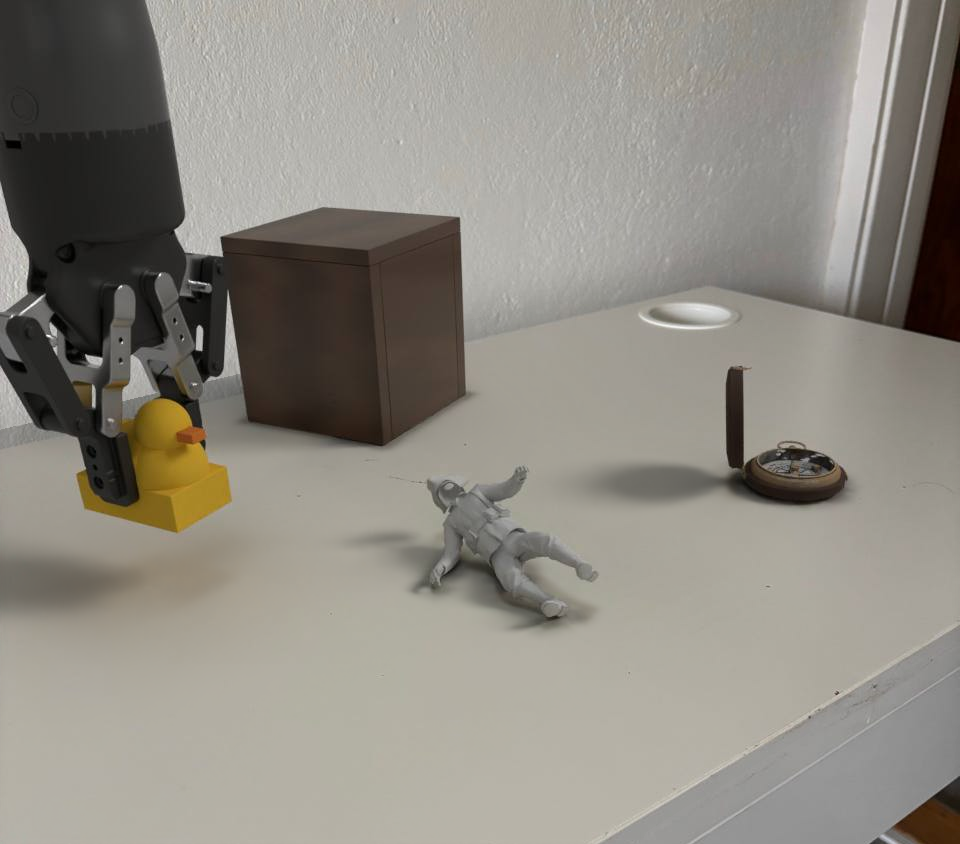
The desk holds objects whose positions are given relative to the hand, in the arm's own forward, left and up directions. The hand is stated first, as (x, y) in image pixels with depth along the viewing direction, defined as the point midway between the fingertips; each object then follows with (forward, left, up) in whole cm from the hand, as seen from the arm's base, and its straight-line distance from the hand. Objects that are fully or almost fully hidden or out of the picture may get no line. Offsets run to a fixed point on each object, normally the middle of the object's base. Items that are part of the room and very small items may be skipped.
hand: (153, 482), depth 53 cm
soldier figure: (+16, +8, -6) cm, 19 cm away
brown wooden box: (-6, +27, -5) cm, 28 cm away
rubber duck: (0, 0, -1) cm, 1 cm away
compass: (+26, +27, -6) cm, 38 cm away
